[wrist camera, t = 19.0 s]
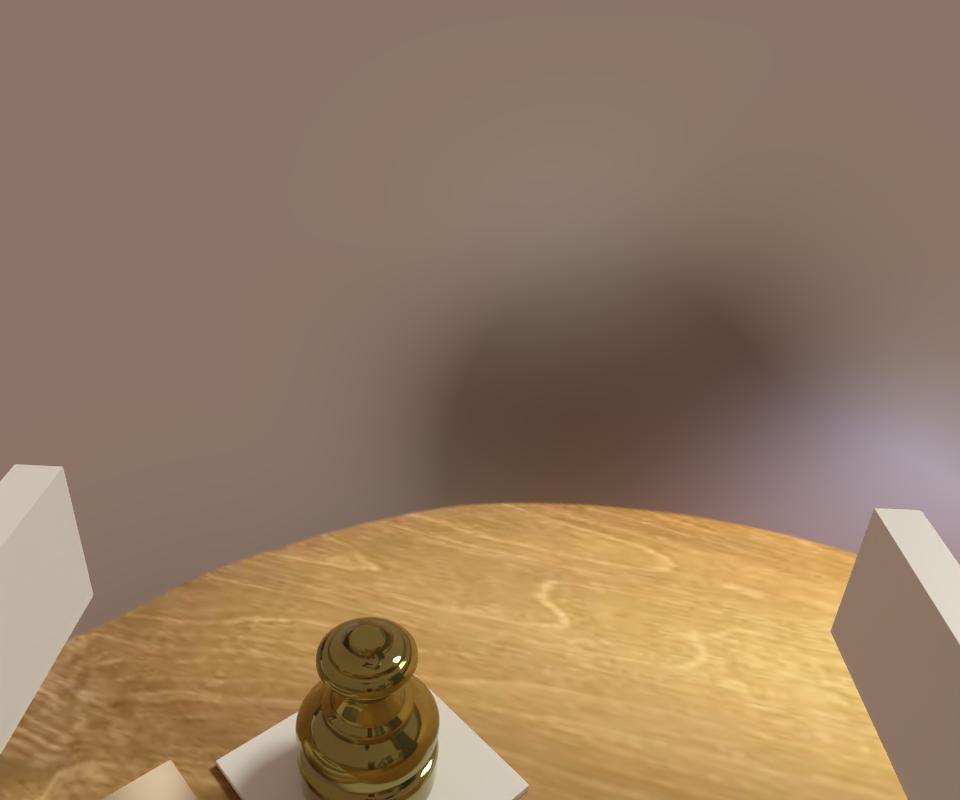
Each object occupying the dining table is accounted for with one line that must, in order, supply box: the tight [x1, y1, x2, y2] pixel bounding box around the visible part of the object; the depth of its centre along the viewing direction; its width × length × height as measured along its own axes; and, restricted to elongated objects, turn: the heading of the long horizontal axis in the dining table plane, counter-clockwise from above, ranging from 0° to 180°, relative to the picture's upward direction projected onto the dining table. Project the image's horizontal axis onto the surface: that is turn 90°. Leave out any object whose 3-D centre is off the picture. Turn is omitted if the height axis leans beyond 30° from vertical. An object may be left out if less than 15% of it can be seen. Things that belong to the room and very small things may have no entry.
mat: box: [216, 674, 529, 800], centre depth 46 cm, size 12×12×1 cm
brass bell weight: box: [295, 617, 440, 800], centre depth 44 cm, size 7×7×10 cm
